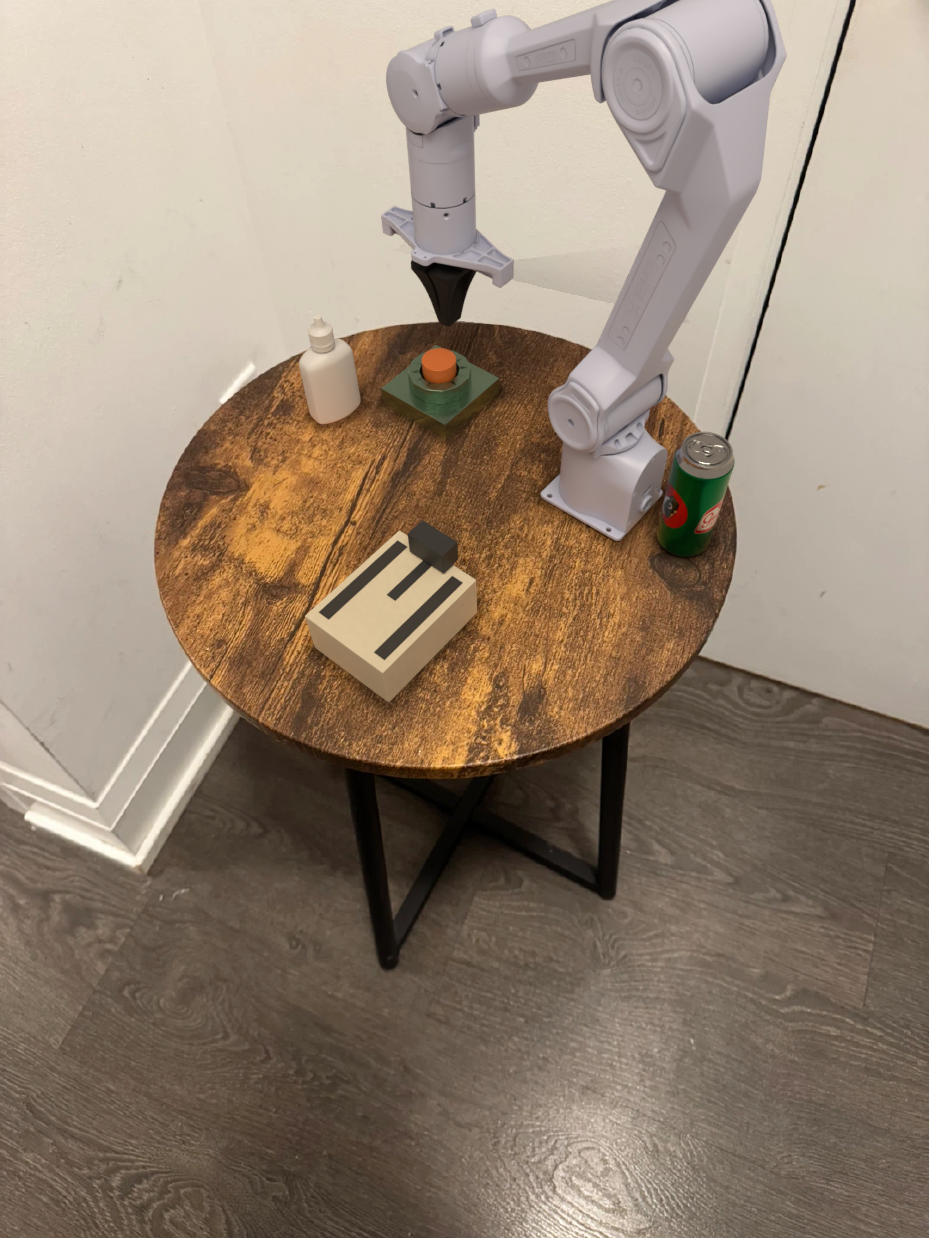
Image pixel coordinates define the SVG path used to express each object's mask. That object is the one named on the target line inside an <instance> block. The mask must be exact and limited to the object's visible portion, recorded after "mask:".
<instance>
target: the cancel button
mask: <svg viewBox="0 0 929 1238" xmlns="http://www.w3.org/2000/svg"><path fill="white" fill-rule="evenodd" d="M430 349H431V348H430ZM430 349H429V350H427V351H425V352H426V353H425V354H424V355H423V356H422V373H423V376H424V378H425V379H426V380H427V381H429V382H431V383H440V384H441V383H445V382H448V381H451V380H452V379H453V378H454V377H455V375H456V372H457V370H456V357H455V355H454V353H453V352H451V351H450V350H451V349H447V348H445V347H444V348H443V347H441V348H435V349H431V350H430Z"/></svg>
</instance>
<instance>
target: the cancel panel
mask: <svg viewBox="0 0 929 1238" xmlns="http://www.w3.org/2000/svg"><path fill="white" fill-rule="evenodd" d="M435 348H442V347H441V346H439V345H437V344H434V345H433V346H432V347H431V348H430V349H429V350H431V349H435ZM449 350H450V351H451V352H453V353H454V355H455V357H456V370H457V372H456V375H455V377H454V378H453V379H452V380H451V381H448V382H445V383H441V384H440V383H431V382H429V381H427V380H426V379H425V378H424V376H423V373H422V356H423V355H424V354H425V353H426V352H427V351H425V352H421V353H420V354H419V355H417V357H415V358H414V359H412V360H411V361H410V364H409V366H407V367H405V368H404V369H403V370H402V371H401V372H400V373H398V374H397V375H396V376H395V377H393V378H392V379H391V380H390V381H388V382H387V383H386V384H385V385H384V386H382V387H381V388H380V390H381V397H382V404H383V405H385V406H387V407H388V408H390V409H392V410H393V411H395V412H397V413H399V414H400V415H402V416H404V417H406V418H408V419H410V420H411V421H413V422H415V423H416V424H418V425H420V426H422V427H423V428H425V429H427V430H428V431H430V432H431V433H434V434H435V435H437V436H439V437H440V438H442V439H444V440H448V439H449V438H450V437H451V436H452V435H454V433H456V432H457V431H458V430H459V429H460V428H461V427H463V425H464V424H466V423H467V422H468V421H469V420H470V419H472V418H473V417H474V416H475V415H476V414H477V413H479V412H480V411H481V410H482V409H483V408H485V406H487V405H488V404H489V403H490V402H491V401H493V399H494V398H496V397H497V396H498V395H500V378H499V377H498V376H496V375H495V374H493V373H491V372H489V371H487V370H485V369H483V368H482V367H479V366H477V365H475V364H473V363H471V362H470V361H468V359H467V357H466V356H464V355H462V354H460V353H458V352H457V351H454V350H451V349H449Z"/></svg>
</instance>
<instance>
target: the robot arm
mask: <svg viewBox="0 0 929 1238" xmlns="http://www.w3.org/2000/svg"><path fill="white" fill-rule="evenodd" d="M470 24H471V25H470V26H467V27H463V28H461V29H459V30H455V28H454V26H453V25H448V26H445V27H442V28H440V29H438V30H436V31H435V32H434V34H433V37H432V38H431V39H430V38H429V39H428V40H425V41H423V42H421V43H419V44H416V45H414V46H413V47H410V48H407V49H403V50H402V49H401V50H399V51H398V53H397V54H396V55H395V56H393V57H392V58H391V59H390V61H389V62H388V64H387V68H386V73H385V82H386V83H385V84H386V91H387V95H388V98H389V101H390V105H391V106H392V109H393V111H394V112H395V115H396V116H397V118H398V119H399V121H400V122H401V124H402V125H404V127H405V138H406V139H405V140H406V149H407V150H406V151H407V160H408V161H407V162H408V171H409V172H408V173H409V184H410V185H409V186H410V197H411V208H412V210H409V209H405V208H402V207H399V206H397V205H393V206H392V207H390V208H388V209H387V210H386V211H384V212H383V213H381V215H380V219H381V226H382V234H384V235H387V236H389V237H392V236H394V235H397V236H399V237H400V238H401V239H402V240H404V242H405V243H406V244H407V245H408V246H409V247H410V248H411V249H412V251H411V252H410V258H411V261H410V270H411V271H412V272H413V273H414V274H415V275H416V277H417V278H418V280H419V281H420V283H421V284H422V286H423V288H424V289H425V291H426V293H427V295H428V298H429V300H430V302H431V305H432V309H433V310H434V314H435V316H436V318H437V322H438V323H439V324H441V325H443V326H444V327H447V328H451V326H453V325H454V324H455V323H457V322H458V321H459V320H460V319H462V313H463V311H464V310H463V309H464V304H465V301H466V298H467V294H468V292H469V289H470V286H471V284H472V281H473V279H474V278H475V276H476V274H477V273H479V274H481V275H483V276H485V277H488V278H489V279H491V280H492V283H491V284H492V285H493V286H494V287H497V288H499V289H501V288H503V287H504V286H506V285H507V284H508V283H509V282H511V280H512V279H514V276H515V259H513V258H512V257H509V256H507V255H506V254H505V253H503V252H502V251H501V250H500V249H498V247H496V246H495V245H494V244H493V243H492V242H491V241H490V240H489V239H488V238H487V237H486V236H484V235H483V233H481V231H480V230H478V229H477V209H476V208H477V207H476V206H477V205H476V198H477V197H476V195H477V194H476V163H475V162H476V159H475V158H476V157H475V155H476V154H475V132H476V131H477V130H478V127H480V123H481V121H480V115H484V114H488V113H493V112H498V111H503V110H509V109H514V108H518V107H522V106H523V105H524V104H526V103H528V102H529V100H530V99H531V98H532V97H533V95H534V94H535V92H536V90H537V88H538V86H539V84H540V83H545V82H552V81H558V80H564V79H565V80H566V79H569V78H578V77H583V76H589V75H590V82H591V88H592V93H593V98H594V100H595V101H596V102H597V103H599V104H603V103H605V102H606V104H607V107H608V110H609V111H610V113H611V116H612V117H613V119H614V121H615V123H616V125H617V127H618V128H619V129H620V131H621V133H622V135H623V136H624V138H625V140H626V141H627V143H628V145H629V146H630V148H631V149H632V152H633V153H634V155H635V156H636V158H637V160H638V161H639V163H640V164H641V166H642V168H643V169H644V171H645V173H646V175H647V176H648V178H649V180H650V181H651V183H652V185H653V186H654V187H655V188H656V189H660V190H663V191H664V194H663V196H662V199H661V201H660V203H659V205H658V208H657V210H656V212H655V214H654V217H653V219H652V221H651V223H650V226H649V228H648V229H647V232H646V234H645V236H644V239H643V241H642V243H641V244H640V245H641V246H640V248H639V249H638V252H637V254H636V257H635V259H634V261H633V263H632V265H631V267H630V270H629V272H628V274H627V276H626V278H625V280H624V283H623V285H622V288H621V290H620V291H619V294H618V296H617V299H616V301H615V303H614V305H613V307H612V310H611V312H610V313H609V316H608V318H607V320H606V323H605V325H604V327H603V329H602V332H601V334H600V336H599V338H598V340H597V343H596V344H595V346H594V347H593V348H592V349H591V350H590V351H589V352H588V353H587V354H586V355H585V357H584V358H583V359H582V360H581V361H580V362H579V363H578V364H577V365H576V366H575V368H573V369H572V371H571V372H570V373H569V374H568V377H567V379H566V381H565V383H563V384H562V385H559V386H558V387H556V388H554V389H553V390H552V391H551V392H550V394H549V396H548V398H547V413H548V419H549V422H550V425H551V427H552V429H553V431H554V432H555V434H556V435H557V436H558V438H559V439H560V440H561V441H562V446H561V459H560V469H559V470H560V471H559V474H558V475H557V476H556V477H555V478H554V479H553V480H552V481H551V482H549V483H548V485H546V487H544V489H542V490H541V492H540V498H541V499H542V500H544V501H545V502H547V503H549V504H551V505H553V506H554V507H556V508H558V509H559V510H561V511H563V512H564V513H566V514H568V515H569V516H571V517H573V518H575V519H577V520H578V521H580V522H582V523H584V524H585V525H587V526H589V527H591V528H592V529H594V530H596V531H598V532H599V533H601V534H602V535H604V536H606V537H608V538H609V539H611V540H612V541H615V542H619V541H621V540H622V539H624V538H625V537H626V535H628V533H630V531H631V530H632V529H633V527H635V526H636V524H637V523H638V522H639V521H640V520H641V519H642V518H643V517H644V516H645V515H646V514H647V512H649V510H650V509H651V508H652V507H653V506H654V505H655V504H656V503H657V502H658V501H659V500H660V499H661V497H662V496H663V493H664V491H663V490H662V489H661V487H662V483H663V479H664V475H665V469H666V466H667V461H668V450H667V448H666V447H664V446H663V445H661V444H660V443H659V442H657V441H656V440H655V439H654V438H653V437H652V435H651V434H650V433H649V432H648V431H647V430H646V428H645V425H646V422H647V421H648V420H649V418H650V411H651V408H652V407H655V406H657V405H658V404H660V403H661V402H662V401H663V400H664V399H665V397H666V396H667V393H668V387H669V372H670V370H671V368H672V365H673V363H674V362H675V357H674V356H673V355H672V353H671V351H670V350H669V347H670V346H671V344H672V342H673V340H674V338H675V337H676V335H677V333H678V331H679V330H680V328H681V326H682V325H683V323H684V321H685V319H686V317H687V315H688V314H689V312H690V310H691V309H692V306H693V304H694V303H695V301H696V300H697V298H698V296H699V294H700V292H701V291H702V289H703V288H704V286H705V284H706V282H707V280H708V279H709V277H710V275H711V273H712V271H713V270H714V268H715V266H716V265H717V262H718V261H719V259H720V257H721V255H722V254H723V252H724V250H725V249H726V248H727V245H728V243H729V241H730V240H731V238H732V236H733V235H734V233H735V231H736V229H737V227H738V225H740V223H741V220H742V218H743V217H744V215H745V213H746V211H747V210H748V208H749V207H750V205H751V203H752V201H753V200H754V197H755V196H756V194H757V193H758V189H759V187H760V184H761V180H762V174H763V168H764V167H763V165H764V156H765V148H766V147H765V146H766V138H767V137H766V136H767V129H768V119H769V109H770V100H771V93H772V90H773V88H774V86H775V84H776V81H777V80H778V77H779V75H780V72H781V70H782V68H783V66H784V65H785V62H786V59H787V52H786V48H785V43H784V40H783V35H782V33H781V29H780V26H779V22H778V18H777V14H776V11H775V8H774V5H773V2H772V0H609V1H607V2H604V3H602V4H598V5H596V6H593V7H590V8H586V9H584V10H582V11H579V12H576V13H574V14H573V13H572V14H570V15H567V16H565V17H563V18H559V19H557V20H554V21H551V22H548V23H545V24H543V25H540V26H537V27H534V28H531V27H530V26H529V25H528V24H527V23H526V22H525V21H524V20H522V19H521V18H520V17H518V16H515V15H511V14H510V15H509V14H508V15H507V14H506V15H501V16H498V13H497V10H496V9H495V8H491V9H487V10H484V11H483V12H480V13H477V14H476V15H474V16H471V17H470Z"/></svg>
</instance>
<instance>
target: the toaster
mask: <svg viewBox="0 0 929 1238" xmlns="http://www.w3.org/2000/svg"><path fill="white" fill-rule="evenodd" d="M477 592H478V590H477V579H475V578H474V577H473V576H471V575H469V574H468V573H467V572H465V571H464V570H462V569H460V568H458V567H457V566H455V564H453V565H452V566H451V567H450V568H449V569H448V570H447V571H446V572H445V573H442V572H440V571H439V570H437V569H436V568H434V567H433V566H431V565H430V564H428V563H427V562H425V561H424V560H422V559H420V558H419V557H417V556H416V555H414V554H413V553H411V552H410V549H409V542H408V534H405V532H403V531H401V530H398V531H397V532H395V533H394V534H393V536H391V537H390V538H389V539H388V540H386V542H384V544H382V545H381V546H380V547H379V548H378V549H377V550H376V551H375V552H374V553H372V554H371V555H370V556H369V557H368V558H367V559H366V560H365V561H364V562H363V563H362V564H361V565H359V566H358V567H357V568H355V570H354V571H353V572H351V574H349V575H348V576H347V577H346V578H345V579H344V580H343V581H342V582H341V583H339V584H338V585H337V586H336V587H335V588H334V589H333V590H332V591H330V592H329V593H328V594H327V595H326V596H325V597H324V598H323V599H322V600H321V601H320V602H319V603H318V604H316V605H315V606H314V607H313V608H312V609H311V610H310V611H308V613H306V614H305V615H304V618H305V621H306V624H307V628H308V631H309V634H310V637H311V640H312V643H313V646H314V648H315V649H316V650H317V651H318V652H320V653H321V654H323V655H324V656H325V657H327V658H328V659H330V660H331V661H332V662H334V663H335V664H336V665H337V666H339V667H340V668H341V669H343V670H344V671H345V672H347V673H348V674H350V675H351V676H352V677H353V678H355V679H356V680H357V681H359V682H360V683H361V684H363V685H364V686H365V687H367V688H368V689H369V690H371V691H372V692H373V693H374V694H376V695H378V696H379V697H380V698H382V699H383V700H384V701H386V702H387V703H390V702H391V701H392V700H393V699H394V698H395V697H396V696H397V695H398V694H399V693H400V692H401V691H402V690H403V689H404V688H405V687H406V686H407V685H408V684H409V683H410V681H412V680H413V679H414V678H415V677H416V676H417V675H418V674H419V672H421V670H423V668H424V667H425V666H426V665H428V664H429V663H430V662H431V660H432V659H433V658H434V657H435V656H437V654H438V653H439V652H440V651H441V650H442V649H443V648H444V647H445V646H446V645H447V644H448V643H449V642H450V641H451V640H453V638H454V637H455V636H456V635H457V634H458V633H459V632H460V631H461V630H462V629H463V628H464V627H465V626H466V625H467V624H468V623H469V622H470V620H472V618H474V616H475V615H476V614H477V613H478V593H477Z"/></svg>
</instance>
